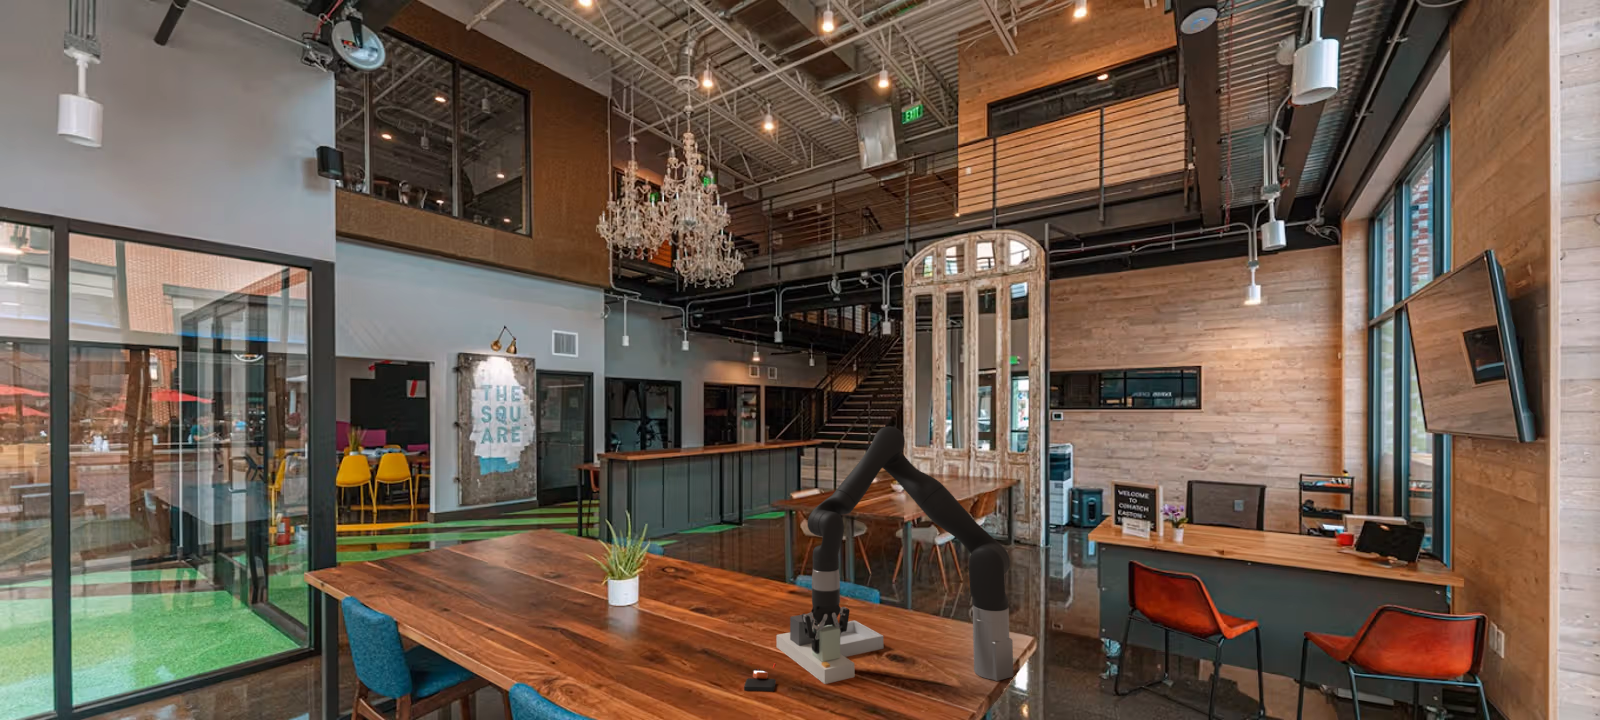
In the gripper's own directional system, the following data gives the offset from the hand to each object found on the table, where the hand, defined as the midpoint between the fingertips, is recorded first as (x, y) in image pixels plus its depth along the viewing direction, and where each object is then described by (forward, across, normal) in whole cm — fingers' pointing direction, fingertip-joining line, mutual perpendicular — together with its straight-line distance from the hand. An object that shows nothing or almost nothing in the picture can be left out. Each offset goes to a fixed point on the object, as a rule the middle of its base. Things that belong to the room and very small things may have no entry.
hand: (826, 650), depth 166 cm
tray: (+5, +15, +13) cm, 21 cm away
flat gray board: (+5, 0, +7) cm, 9 cm away
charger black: (+4, 0, +13) cm, 14 cm away
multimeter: (+6, -18, +6) cm, 19 cm away
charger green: (+4, 0, 0) cm, 4 cm away
